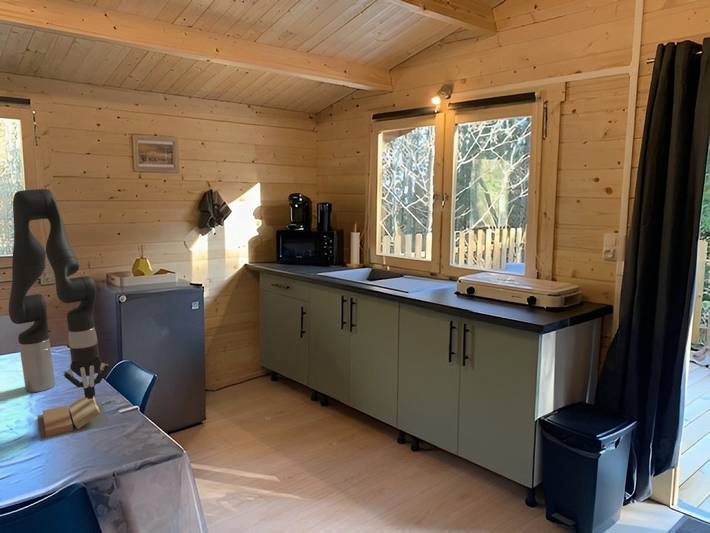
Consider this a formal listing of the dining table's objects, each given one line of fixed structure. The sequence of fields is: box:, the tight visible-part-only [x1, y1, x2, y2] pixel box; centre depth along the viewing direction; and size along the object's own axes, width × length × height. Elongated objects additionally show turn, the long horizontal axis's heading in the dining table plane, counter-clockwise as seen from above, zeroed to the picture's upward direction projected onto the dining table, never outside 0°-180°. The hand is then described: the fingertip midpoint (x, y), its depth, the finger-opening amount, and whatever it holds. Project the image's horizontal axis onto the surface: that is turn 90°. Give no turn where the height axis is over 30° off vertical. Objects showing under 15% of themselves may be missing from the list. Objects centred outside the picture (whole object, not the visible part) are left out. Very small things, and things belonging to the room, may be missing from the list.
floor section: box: [37, 401, 111, 442], centre depth 168 cm, size 20×18×3 cm
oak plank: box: [68, 395, 100, 429], centre depth 169 cm, size 16×7×2 cm, turn 32°
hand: (90, 398), depth 170 cm, fingers closed
